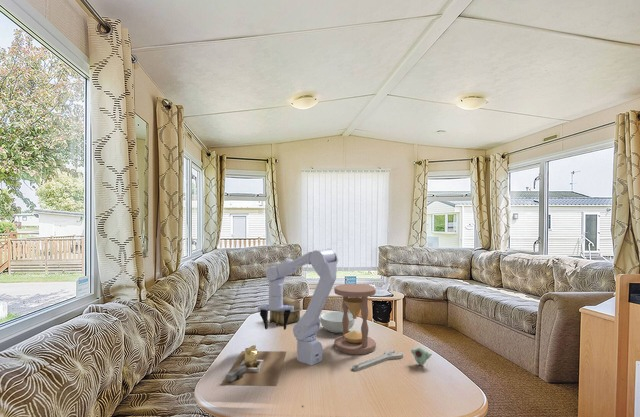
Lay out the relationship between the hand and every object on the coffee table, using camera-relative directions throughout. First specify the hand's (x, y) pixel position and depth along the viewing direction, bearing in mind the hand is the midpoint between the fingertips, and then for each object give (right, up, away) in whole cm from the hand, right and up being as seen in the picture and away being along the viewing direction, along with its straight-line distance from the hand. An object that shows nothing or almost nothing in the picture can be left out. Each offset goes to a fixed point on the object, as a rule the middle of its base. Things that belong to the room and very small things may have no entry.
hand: (275, 328), depth 140 cm
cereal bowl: (+27, -11, +27) cm, 39 cm away
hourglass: (+33, -10, +6) cm, 35 cm away
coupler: (-7, -8, -18) cm, 20 cm away
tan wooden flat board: (-4, -9, -17) cm, 19 cm away
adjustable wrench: (+40, -10, -9) cm, 42 cm away
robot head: (+56, -9, -13) cm, 58 cm away
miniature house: (-1, -11, +42) cm, 43 cm away
